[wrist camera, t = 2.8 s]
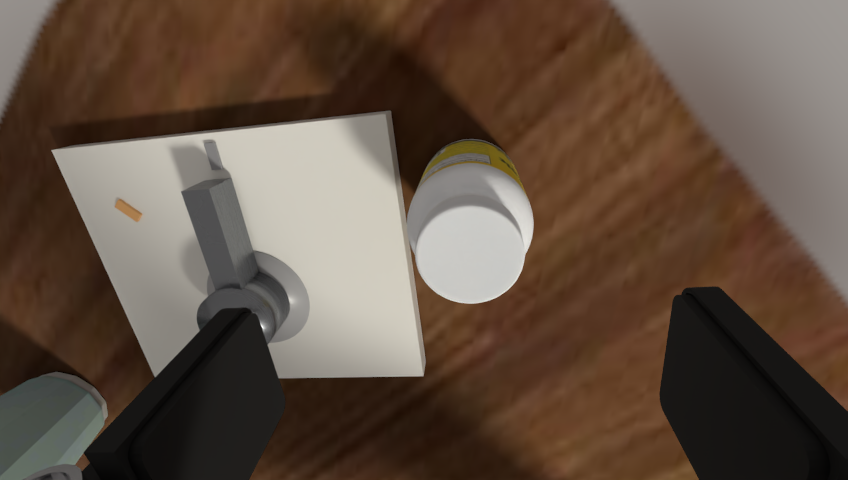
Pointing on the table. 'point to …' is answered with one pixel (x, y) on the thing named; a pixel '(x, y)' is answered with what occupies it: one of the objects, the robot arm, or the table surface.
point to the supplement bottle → (470, 222)
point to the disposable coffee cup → (47, 423)
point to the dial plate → (263, 237)
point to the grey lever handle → (232, 258)
